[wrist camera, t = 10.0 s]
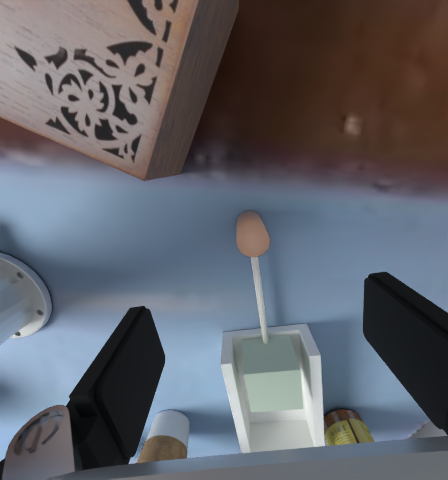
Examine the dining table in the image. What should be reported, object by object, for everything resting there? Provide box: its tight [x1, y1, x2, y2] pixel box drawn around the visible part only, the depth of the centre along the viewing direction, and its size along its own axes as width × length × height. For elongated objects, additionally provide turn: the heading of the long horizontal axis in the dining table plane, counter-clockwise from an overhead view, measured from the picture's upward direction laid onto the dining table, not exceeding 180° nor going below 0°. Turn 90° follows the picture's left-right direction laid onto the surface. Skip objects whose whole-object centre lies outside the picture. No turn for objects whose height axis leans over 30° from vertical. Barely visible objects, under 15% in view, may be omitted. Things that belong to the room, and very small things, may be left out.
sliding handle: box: [236, 211, 304, 413], centre depth 24 cm, size 22×6×6 cm, turn 10°
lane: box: [221, 323, 325, 453], centre depth 29 cm, size 18×11×6 cm, turn 10°
